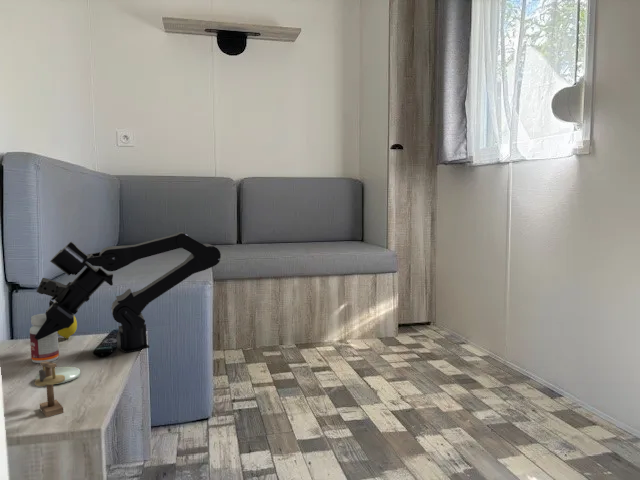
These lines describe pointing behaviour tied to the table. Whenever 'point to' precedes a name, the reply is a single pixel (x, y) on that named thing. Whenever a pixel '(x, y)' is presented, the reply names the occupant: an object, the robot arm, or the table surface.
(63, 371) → the dish
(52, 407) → the balance
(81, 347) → the table surface
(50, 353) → the pill bottle
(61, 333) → the lemon
